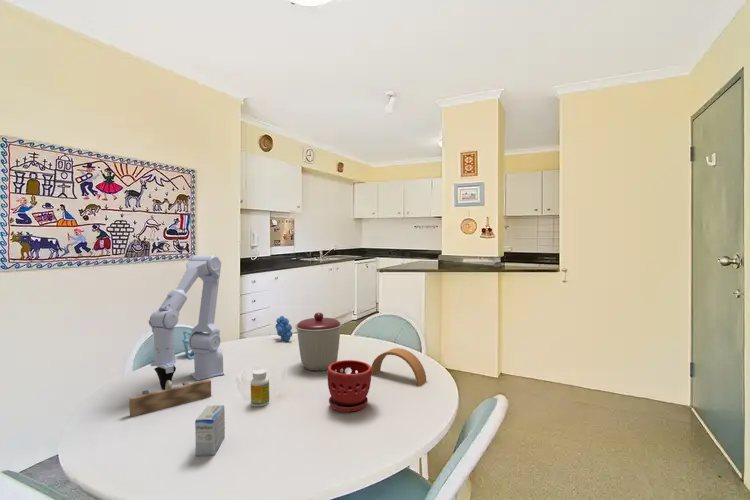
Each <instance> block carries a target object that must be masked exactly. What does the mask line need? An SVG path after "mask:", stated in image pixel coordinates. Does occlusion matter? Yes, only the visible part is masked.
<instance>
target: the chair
mask: <svg viewBox="0 0 750 500" xmlns="http://www.w3.org/2000/svg"><path fill="white" fill-rule="evenodd" d="M191 333H192V329H191V330H190V329H186V330H185V331H183V332H182V334H183V337H184V338H183V339H182V340H181V342H182V343H183V347H184V354H185V356H186V357H187V359H189V360H194V352H192V350H191V351H190V353H189V349H188V345H189V344H188V342H189V338H187V335H188V336H189V337H190V336H191ZM202 333H204V332H202ZM186 334H187V335H186ZM190 354H192V356H191V355H190Z"/></svg>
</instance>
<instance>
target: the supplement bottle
mask: <svg viewBox="0 0 750 500" xmlns="http://www.w3.org/2000/svg"><path fill="white" fill-rule="evenodd" d="M269 403H270V379H269V378H268V377H267V370H266V369H256V370H253V371H252V378H251V380H250V404H251V406H253V407H263V406H266V405H268V404H269Z"/></svg>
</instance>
